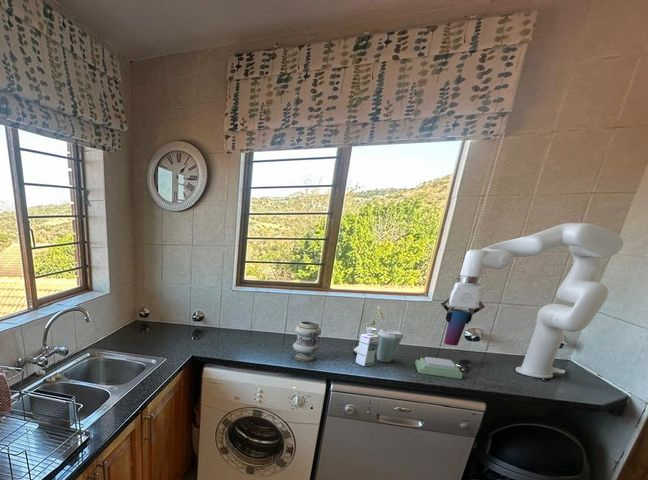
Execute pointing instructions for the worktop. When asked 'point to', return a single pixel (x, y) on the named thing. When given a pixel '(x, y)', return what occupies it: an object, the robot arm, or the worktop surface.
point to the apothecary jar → (306, 340)
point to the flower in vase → (370, 329)
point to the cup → (456, 326)
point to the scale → (437, 370)
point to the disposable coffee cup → (388, 344)
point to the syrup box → (367, 349)
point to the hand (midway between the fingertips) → (457, 321)
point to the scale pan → (439, 362)
